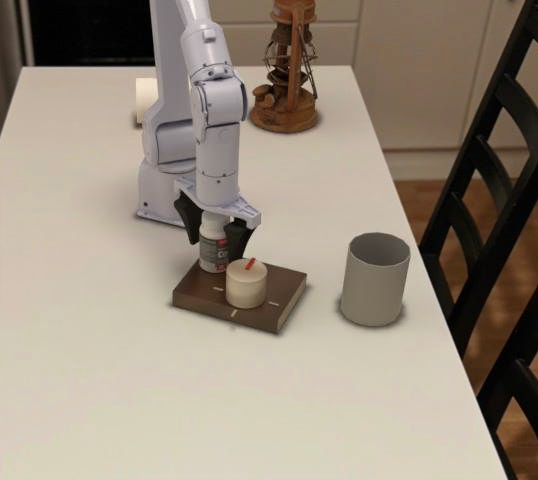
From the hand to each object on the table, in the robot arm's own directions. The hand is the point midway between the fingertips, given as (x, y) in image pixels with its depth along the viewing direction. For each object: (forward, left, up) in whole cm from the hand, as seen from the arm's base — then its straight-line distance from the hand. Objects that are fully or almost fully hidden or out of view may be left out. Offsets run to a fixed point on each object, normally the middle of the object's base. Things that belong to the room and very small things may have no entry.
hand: (215, 251), depth 133 cm
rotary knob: (+7, -6, -2) cm, 9 cm away
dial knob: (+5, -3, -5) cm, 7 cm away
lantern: (-9, +53, -5) cm, 54 cm away
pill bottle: (0, 0, -2) cm, 2 cm away
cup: (+23, +2, -5) cm, 24 cm away
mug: (-30, +44, -5) cm, 54 cm away
